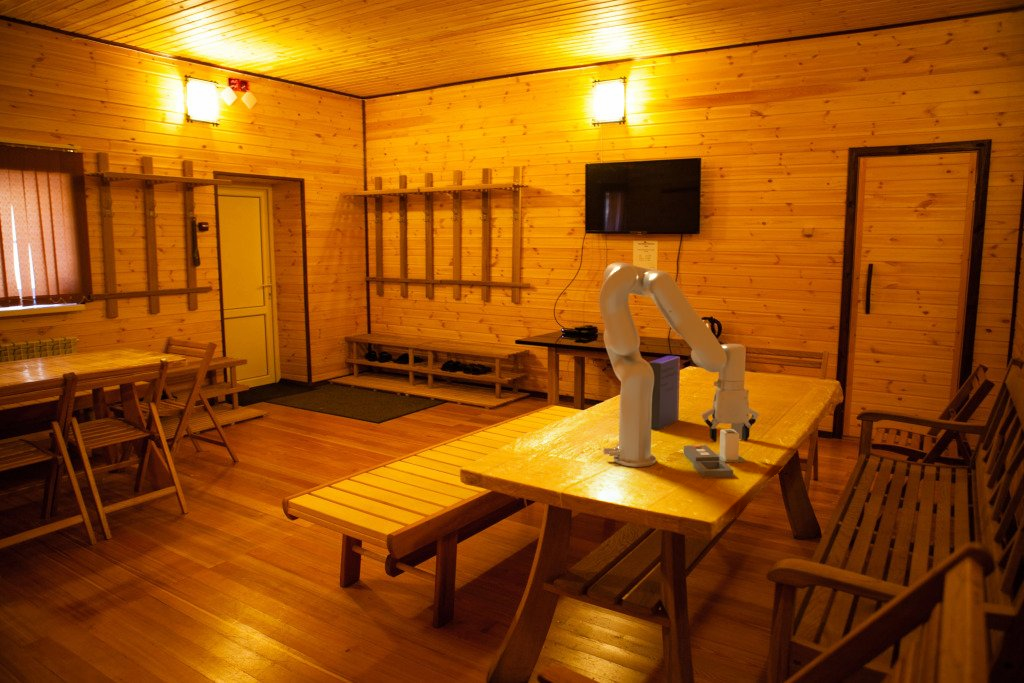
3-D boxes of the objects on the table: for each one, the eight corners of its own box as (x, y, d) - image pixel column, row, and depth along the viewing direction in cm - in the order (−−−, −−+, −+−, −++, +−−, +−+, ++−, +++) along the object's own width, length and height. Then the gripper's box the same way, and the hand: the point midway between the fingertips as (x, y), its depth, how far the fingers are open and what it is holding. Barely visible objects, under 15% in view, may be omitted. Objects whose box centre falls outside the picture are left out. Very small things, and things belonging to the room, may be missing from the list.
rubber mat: (720, 463, 212) (720, 461, 211) (711, 455, 219) (711, 453, 219) (746, 462, 212) (746, 460, 212) (736, 454, 220) (736, 452, 220)
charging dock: (703, 477, 198) (704, 465, 198) (681, 455, 220) (681, 443, 219) (733, 477, 199) (733, 464, 198) (708, 454, 220) (708, 443, 220)
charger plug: (725, 459, 213) (726, 433, 212) (719, 454, 218) (720, 429, 217) (738, 459, 213) (739, 433, 212) (732, 454, 218) (733, 428, 217)
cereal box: (666, 418, 265) (667, 355, 262) (678, 420, 262) (680, 356, 259) (646, 428, 251) (647, 361, 248) (659, 430, 248) (660, 363, 245)
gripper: (707, 388, 208) (705, 444, 211) (764, 387, 209) (762, 443, 212) (699, 383, 216) (697, 437, 218) (754, 382, 217) (752, 436, 219)
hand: (729, 440), depth 215 cm, fingers open, 9 cm apart
